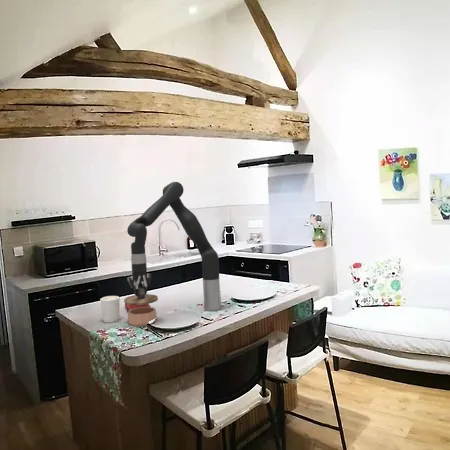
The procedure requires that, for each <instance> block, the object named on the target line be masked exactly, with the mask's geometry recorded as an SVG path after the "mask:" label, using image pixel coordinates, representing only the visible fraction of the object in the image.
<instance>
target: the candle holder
mask: <svg viewBox="0 0 450 450" xmlns="http://www.w3.org/2000/svg"><path fill="white" fill-rule="evenodd" d="M99 301H100V306H101V312H102V313H101V314H102V321H103V323H106V324H107V323H116V322H118V321H120V296H118V295H107V296H103V297H102V298H100V300H99Z"/></svg>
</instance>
